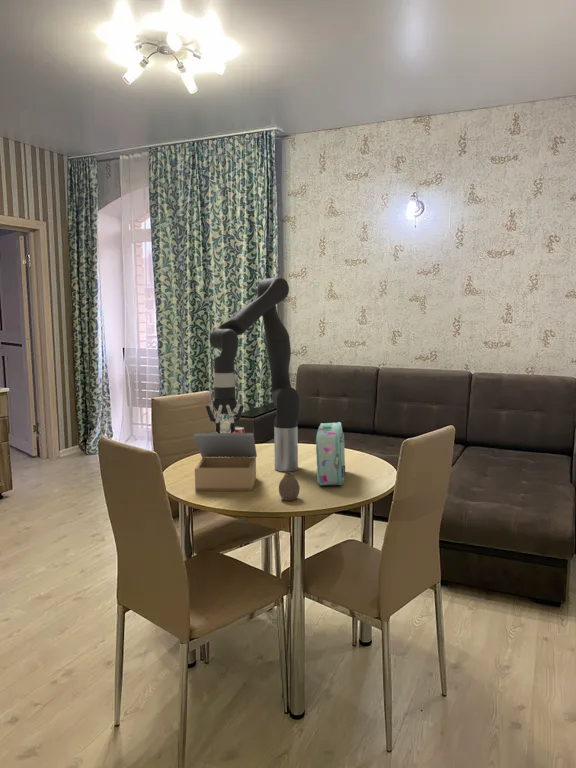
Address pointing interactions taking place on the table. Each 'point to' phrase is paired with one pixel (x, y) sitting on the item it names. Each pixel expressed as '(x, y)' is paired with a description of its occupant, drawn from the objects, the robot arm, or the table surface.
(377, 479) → the table surface
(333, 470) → the lunch box
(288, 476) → the vase
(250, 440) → the lid
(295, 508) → the table surface
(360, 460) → the table surface
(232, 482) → the mailer box
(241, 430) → the soda can
